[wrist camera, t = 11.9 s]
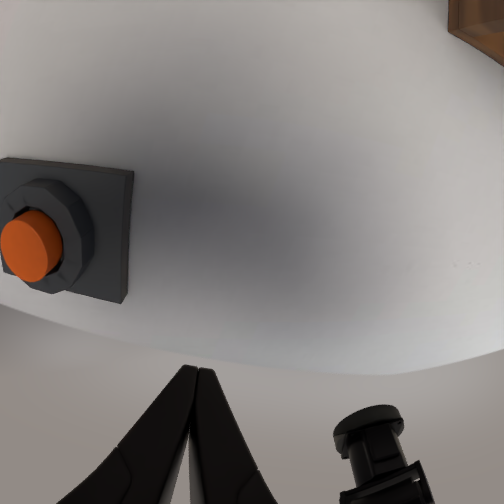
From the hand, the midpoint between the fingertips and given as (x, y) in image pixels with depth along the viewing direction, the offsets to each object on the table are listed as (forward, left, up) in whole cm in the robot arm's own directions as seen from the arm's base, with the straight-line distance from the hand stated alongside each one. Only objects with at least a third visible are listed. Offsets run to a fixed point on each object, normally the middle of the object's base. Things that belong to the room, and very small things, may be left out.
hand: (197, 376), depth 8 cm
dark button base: (+2, +10, -11) cm, 15 cm away
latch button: (+2, +10, -8) cm, 13 cm away
